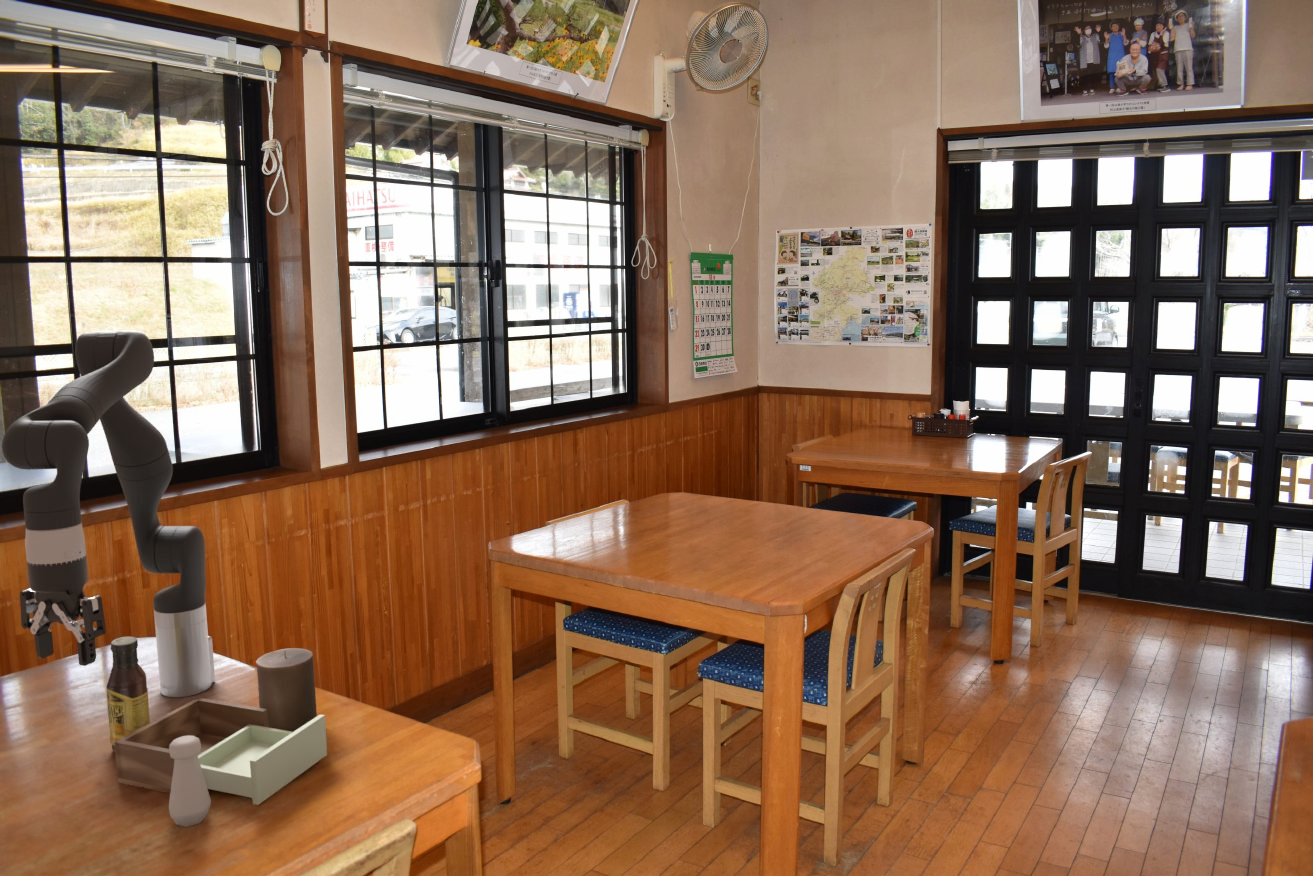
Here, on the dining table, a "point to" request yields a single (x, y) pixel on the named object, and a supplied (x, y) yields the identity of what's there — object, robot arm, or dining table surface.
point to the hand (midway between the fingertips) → (66, 660)
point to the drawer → (263, 759)
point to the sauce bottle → (126, 691)
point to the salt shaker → (187, 783)
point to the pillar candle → (287, 688)
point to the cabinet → (148, 747)
